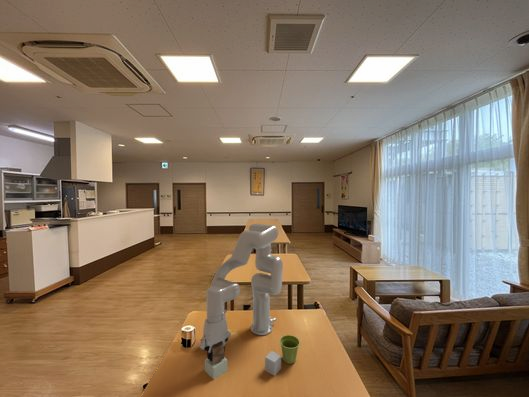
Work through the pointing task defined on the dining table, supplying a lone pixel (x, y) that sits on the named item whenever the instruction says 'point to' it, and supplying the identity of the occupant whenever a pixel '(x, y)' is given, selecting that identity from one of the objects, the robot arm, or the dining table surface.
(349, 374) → the dining table surface
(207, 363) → the base block
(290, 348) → the plant pot
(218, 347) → the walnut block
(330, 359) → the dining table surface
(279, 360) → the grey block
